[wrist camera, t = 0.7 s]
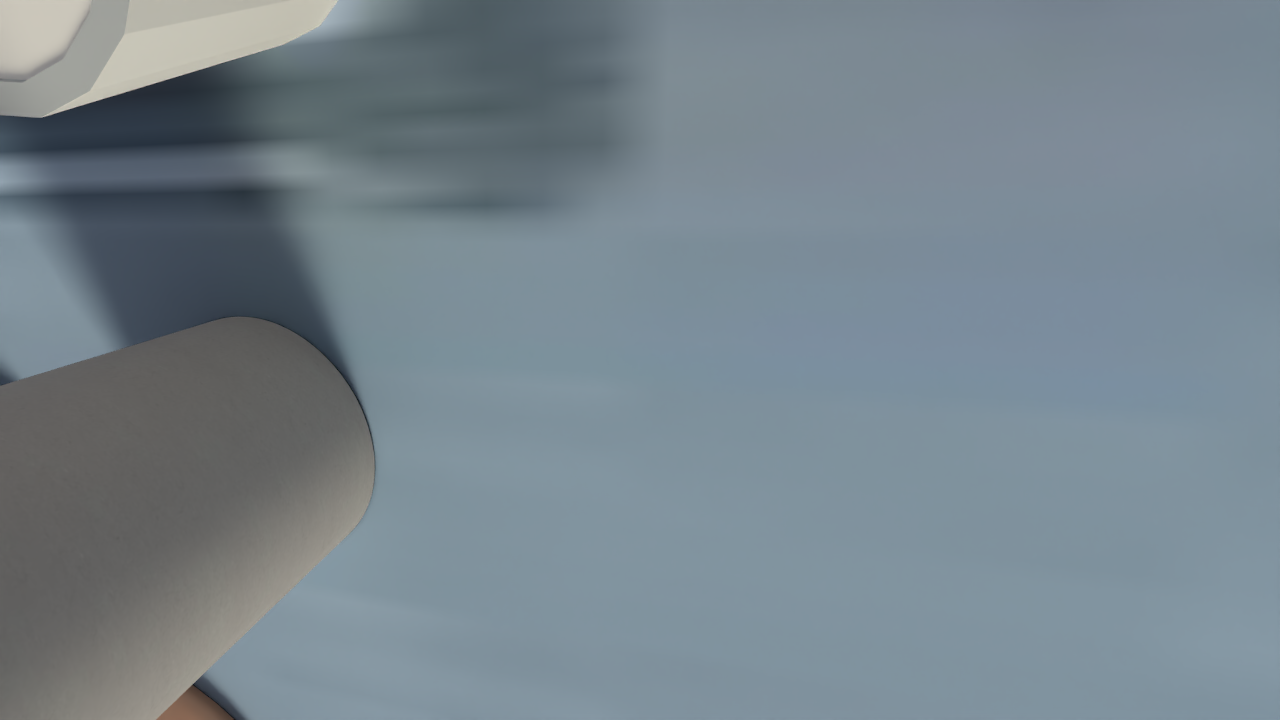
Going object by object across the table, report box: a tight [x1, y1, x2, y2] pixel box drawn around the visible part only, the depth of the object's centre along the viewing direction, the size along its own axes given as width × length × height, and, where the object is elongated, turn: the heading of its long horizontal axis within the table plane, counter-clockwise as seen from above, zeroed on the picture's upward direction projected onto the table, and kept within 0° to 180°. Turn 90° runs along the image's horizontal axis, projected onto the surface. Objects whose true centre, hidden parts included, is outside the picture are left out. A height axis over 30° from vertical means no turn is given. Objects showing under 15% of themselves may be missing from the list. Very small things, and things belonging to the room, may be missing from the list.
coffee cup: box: [0, 317, 375, 720], centre depth 24 cm, size 10×10×15 cm
